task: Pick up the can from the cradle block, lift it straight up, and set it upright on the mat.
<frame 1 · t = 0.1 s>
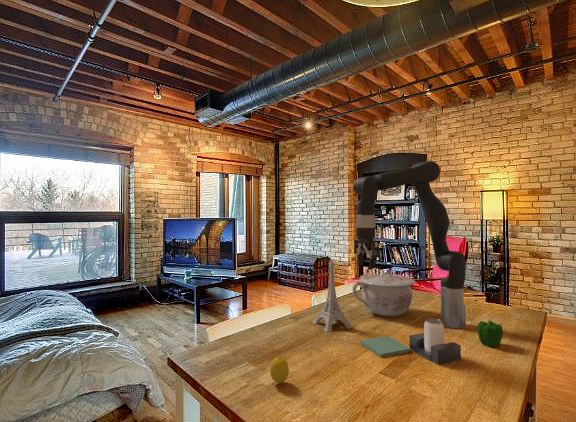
hand: (366, 266, 128), 29 cm above the table, tool pointing down, fingers open, 8 cm apart
mat: (384, 347, 120), on the table
lemon: (279, 384, 95), on the table
chamber pot: (386, 312, 162), on the table
bell pepper: (489, 345, 122), on the table
cradle block: (434, 354, 114), on the table
can: (434, 354, 114), resting in cradle block
eiffel tower: (332, 325, 145), on the table
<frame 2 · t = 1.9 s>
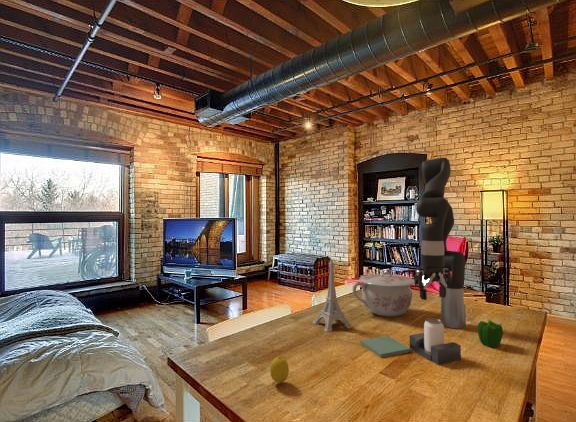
hand: (433, 298, 114), 20 cm above the table, tool pointing down, fingers open, 8 cm apart
nothing on the table moved.
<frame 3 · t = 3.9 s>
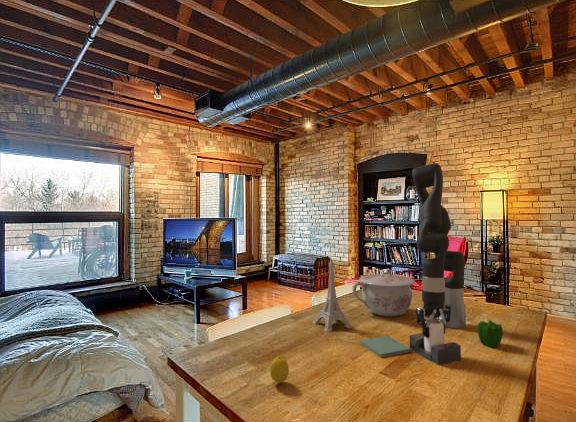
hand: (433, 335, 114), 7 cm above the table, tool pointing down, fingers closed on can, 6 cm apart
can: (434, 354, 114), resting in cradle block, touching gripper
everything else where it was.
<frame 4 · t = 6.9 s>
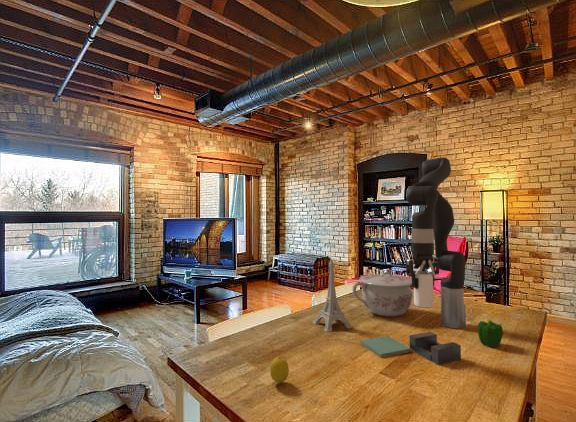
hand: (423, 287, 115), 24 cm above the table, tool pointing down, fingers closed on can, 6 cm apart
can: (423, 306, 115), point 17 cm above the table, touching gripper
everything else where it was.
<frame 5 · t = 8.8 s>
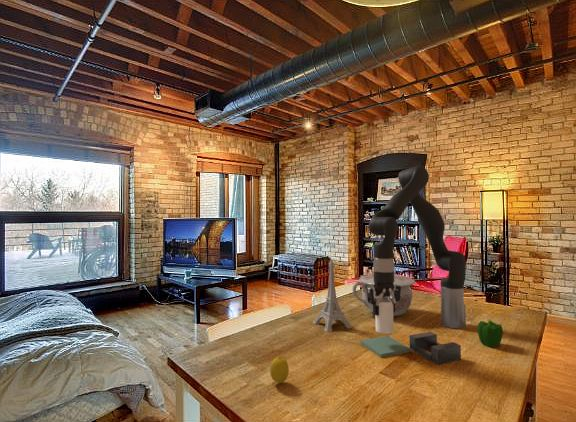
hand: (384, 313, 120), 13 cm above the table, tool pointing down, fingers closed on can, 6 cm apart
can: (384, 332, 120), point 6 cm above the table, touching gripper
everything else where it was.
when the fingers open (9 cm above the table, at t = 10.3 s): can stays where it is, resting on mat.
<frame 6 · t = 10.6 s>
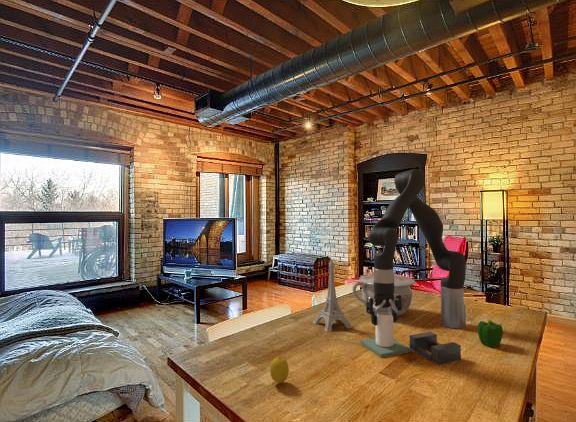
hand: (384, 323, 120), 9 cm above the table, tool pointing down, fingers open, 8 cm apart
can: (384, 344, 120), point 1 cm above the table, touching mat
everything else where it was.
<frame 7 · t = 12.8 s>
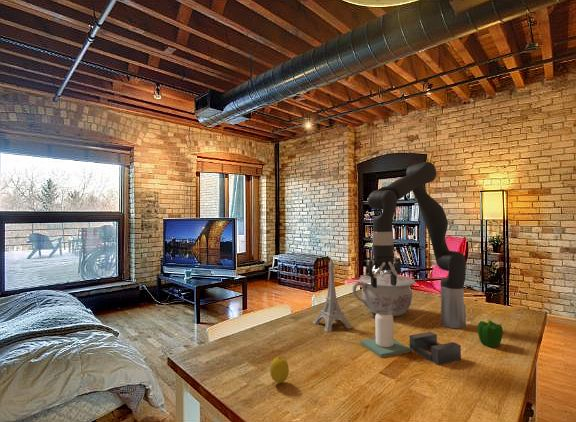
hand: (383, 286, 120), 23 cm above the table, tool pointing down, fingers open, 8 cm apart
nothing on the table moved.
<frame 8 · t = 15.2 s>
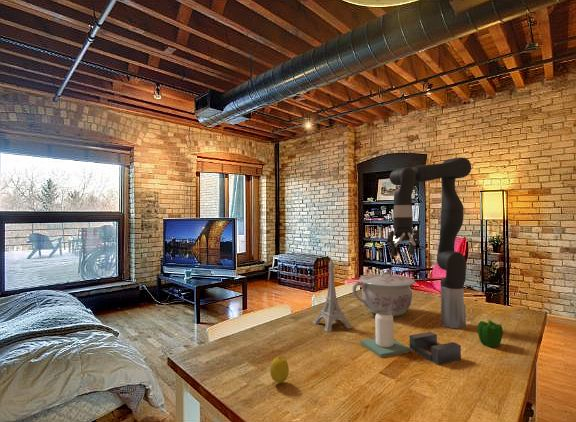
hand: (403, 255, 132), 33 cm above the table, tool pointing down, fingers open, 8 cm apart
nothing on the table moved.
at the end: can inside the target area on the mat (0.0 cm from its centre), point 1.0 cm above the mat's base; can tilted 0°; can touching mat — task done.
